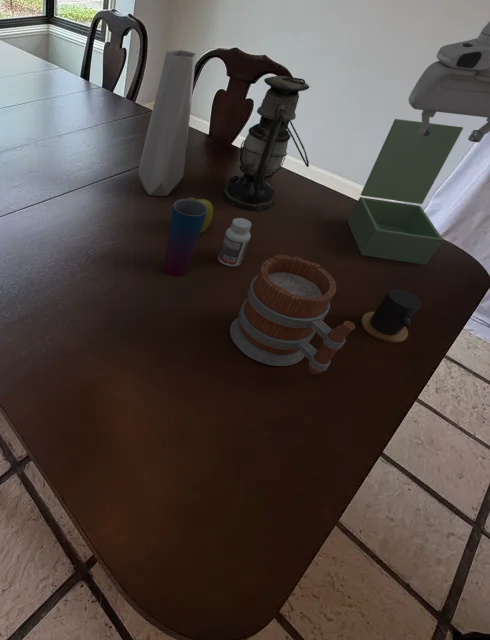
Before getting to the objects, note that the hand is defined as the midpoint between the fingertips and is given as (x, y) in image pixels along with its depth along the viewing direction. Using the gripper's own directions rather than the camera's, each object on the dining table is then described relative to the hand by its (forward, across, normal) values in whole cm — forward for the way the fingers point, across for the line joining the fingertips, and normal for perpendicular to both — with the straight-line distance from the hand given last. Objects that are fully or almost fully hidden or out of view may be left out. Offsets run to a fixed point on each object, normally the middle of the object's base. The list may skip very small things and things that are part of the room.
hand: (447, 138), depth 87 cm
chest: (+27, -4, -7) cm, 28 cm away
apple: (+27, +44, +2) cm, 52 cm away
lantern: (+27, +27, -20) cm, 43 cm away
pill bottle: (+27, +35, +13) cm, 47 cm away
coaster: (+27, +6, +28) cm, 40 cm away
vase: (+27, +55, -17) cm, 64 cm away
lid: (+11, -4, -16) cm, 20 cm away
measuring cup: (+27, +6, +29) cm, 40 cm away
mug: (+27, +28, +40) cm, 56 cm away
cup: (+27, +48, +20) cm, 58 cm away
